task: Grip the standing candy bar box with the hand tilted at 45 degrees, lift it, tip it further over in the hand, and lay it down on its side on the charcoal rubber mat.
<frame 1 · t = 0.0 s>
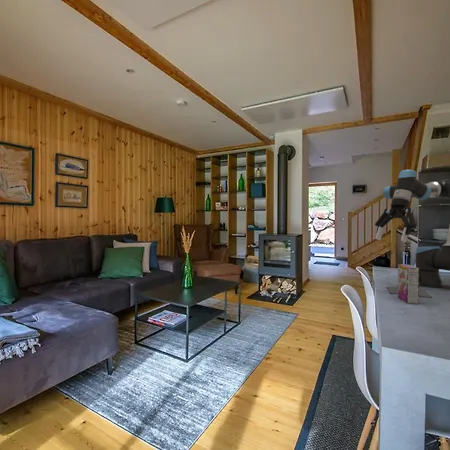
hand: (390, 240, 137), 28 cm above the table, tool tilted 20°, fingers open, 13 cm apart
rubber mat: (407, 292, 148), on the table
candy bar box: (407, 301, 132), on the table
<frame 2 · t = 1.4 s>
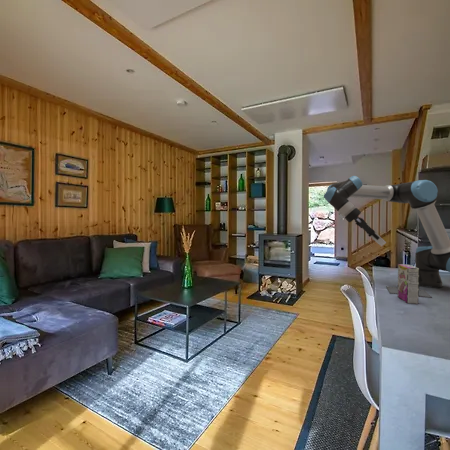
hand: (382, 243, 136), 26 cm above the table, tool tilted 45°, fingers open, 13 cm apart
nothing on the table moved.
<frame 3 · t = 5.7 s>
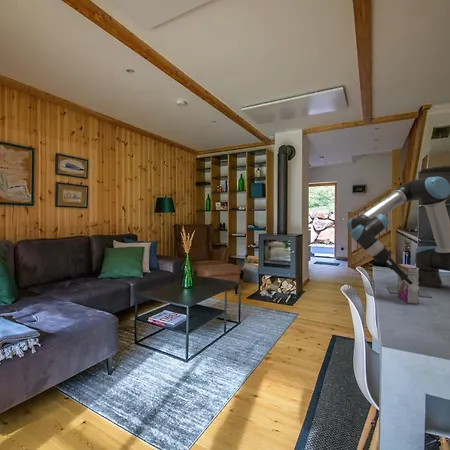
hand: (414, 286, 131), 7 cm above the table, tool tilted 45°, fingers closed on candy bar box, 12 cm apart
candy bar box: (407, 300, 132), on the table, touching gripper
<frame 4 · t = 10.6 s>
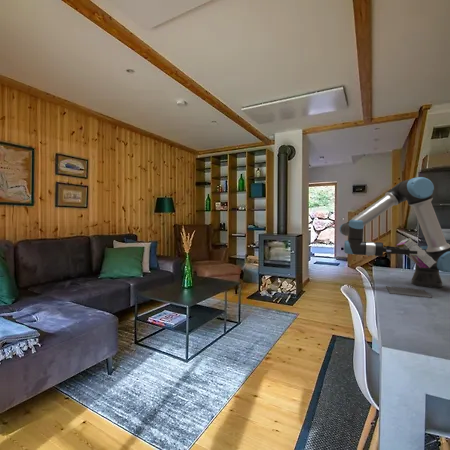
hand: (421, 251, 145), 22 cm above the table, tool horizontal, fingers closed on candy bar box, 12 cm apart
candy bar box: (428, 265, 144), point 15 cm above the table, touching gripper
when the fingers open (11 cm above the table, at t = 13.5 s): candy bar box drops 1 cm, resting on hand, rubber mat.
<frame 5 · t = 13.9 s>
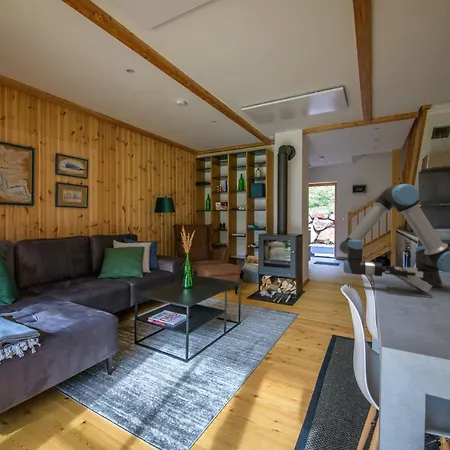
hand: (420, 272, 146), 11 cm above the table, tool horizontal, fingers open, 13 cm apart
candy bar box: (426, 288, 144), point 3 cm above the table, touching hand, rubber mat
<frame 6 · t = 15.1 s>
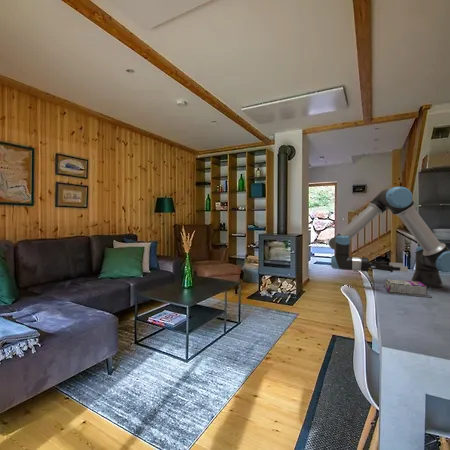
hand: (405, 267, 148), 13 cm above the table, tool horizontal, fingers open, 13 cm apart
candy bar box: (423, 288, 144), point 3 cm above the table, touching rubber mat
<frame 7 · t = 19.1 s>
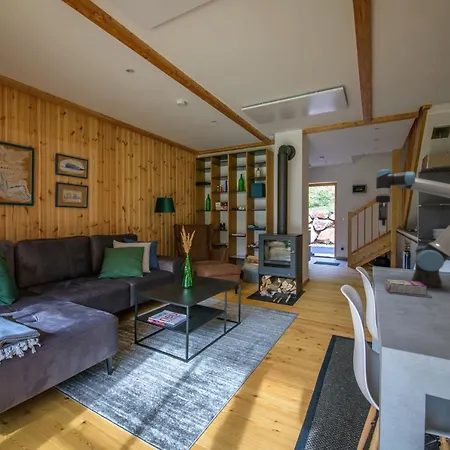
hand: (382, 231, 168), 32 cm above the table, tool pointing down, fingers open, 13 cm apart
nothing on the table moved.
at the end: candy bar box tilted 89°; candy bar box inside the target area (3.5 cm from its centre), point 3.0 cm above the table; the gripper is holding nothing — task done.
